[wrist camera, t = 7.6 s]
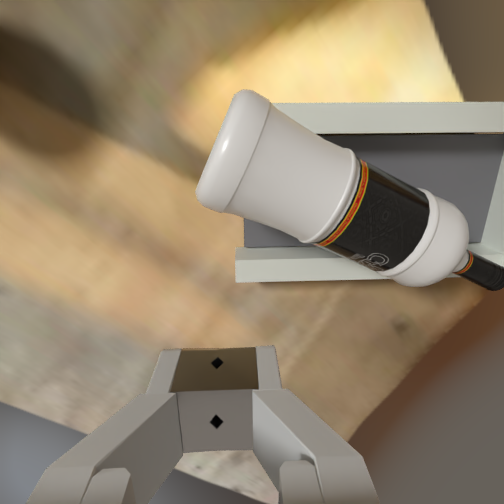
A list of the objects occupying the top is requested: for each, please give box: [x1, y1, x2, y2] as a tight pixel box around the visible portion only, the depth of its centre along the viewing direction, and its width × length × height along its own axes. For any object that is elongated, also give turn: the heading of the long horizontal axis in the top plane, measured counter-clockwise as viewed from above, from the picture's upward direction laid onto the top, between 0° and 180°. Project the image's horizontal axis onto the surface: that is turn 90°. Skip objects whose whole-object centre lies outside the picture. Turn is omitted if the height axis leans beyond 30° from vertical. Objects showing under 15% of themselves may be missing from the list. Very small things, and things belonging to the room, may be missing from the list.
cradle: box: [235, 102, 504, 283], centre depth 32 cm, size 17×30×5 cm, turn 90°
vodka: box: [195, 90, 504, 291], centre depth 28 cm, size 9×9×30 cm
